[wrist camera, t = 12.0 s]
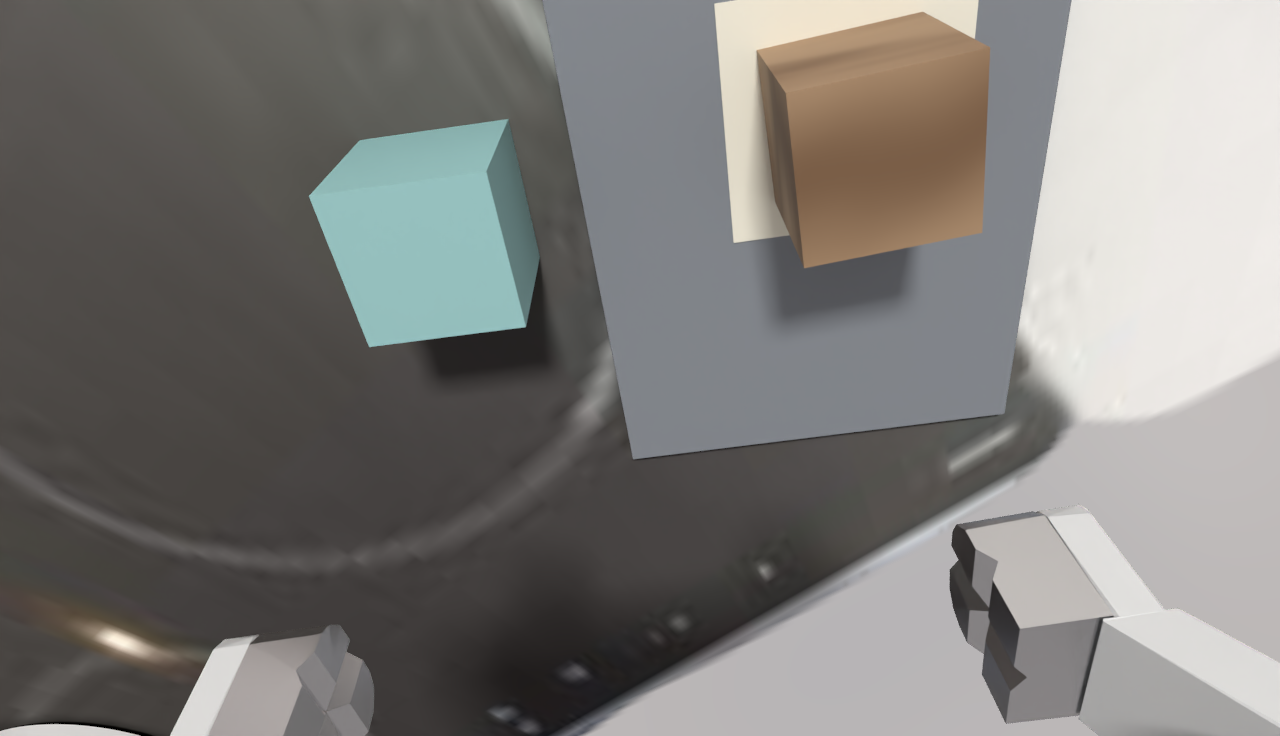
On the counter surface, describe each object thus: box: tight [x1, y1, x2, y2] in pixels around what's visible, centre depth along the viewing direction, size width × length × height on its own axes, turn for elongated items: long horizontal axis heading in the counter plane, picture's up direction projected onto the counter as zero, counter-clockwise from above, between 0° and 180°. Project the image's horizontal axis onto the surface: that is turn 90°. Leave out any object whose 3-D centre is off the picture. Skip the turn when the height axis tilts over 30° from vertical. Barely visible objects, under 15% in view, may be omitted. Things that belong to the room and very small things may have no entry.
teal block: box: [309, 119, 540, 347], centre depth 22 cm, size 4×4×4 cm
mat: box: [542, 0, 1071, 459], centre depth 23 cm, size 20×14×1 cm
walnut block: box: [757, 12, 990, 268], centre depth 20 cm, size 4×4×4 cm
